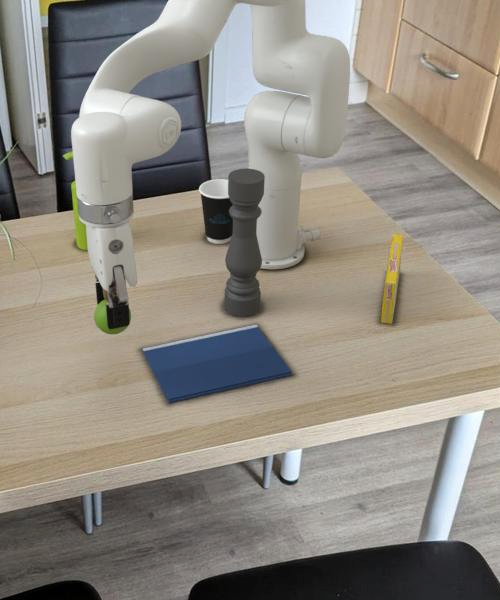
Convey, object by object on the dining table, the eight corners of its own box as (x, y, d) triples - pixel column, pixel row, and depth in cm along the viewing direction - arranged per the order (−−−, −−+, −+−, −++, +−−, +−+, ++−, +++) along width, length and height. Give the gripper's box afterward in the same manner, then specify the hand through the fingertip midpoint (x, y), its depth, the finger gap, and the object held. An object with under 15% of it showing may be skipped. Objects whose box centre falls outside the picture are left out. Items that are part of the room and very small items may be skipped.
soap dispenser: (67, 241, 167) (58, 149, 156) (98, 233, 170) (91, 141, 158) (78, 254, 163) (69, 160, 152) (110, 245, 165) (104, 152, 154)
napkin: (255, 325, 140) (255, 322, 140) (291, 375, 129) (292, 372, 128) (142, 350, 136) (141, 346, 136) (168, 403, 125) (168, 399, 124)
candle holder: (258, 318, 142) (265, 185, 128) (222, 315, 143) (224, 184, 129) (261, 298, 147) (267, 168, 133) (225, 296, 148) (228, 167, 134)
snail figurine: (134, 316, 126) (131, 249, 120) (129, 342, 121) (125, 273, 114) (99, 315, 127) (93, 248, 120) (93, 341, 122) (86, 272, 115)
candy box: (386, 272, 151) (392, 233, 147) (399, 274, 151) (405, 234, 146) (378, 322, 139) (384, 281, 134) (392, 324, 138) (398, 282, 133)
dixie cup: (213, 252, 161) (213, 201, 155) (191, 235, 167) (191, 185, 161) (247, 240, 164) (249, 190, 158) (224, 224, 170) (225, 175, 163)
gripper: (150, 229, 106) (155, 343, 116) (115, 175, 120) (122, 281, 130) (93, 239, 104) (103, 354, 115) (64, 183, 118) (75, 290, 128)
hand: (113, 314), depth 122 cm, fingers closed on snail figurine, 5 cm apart
